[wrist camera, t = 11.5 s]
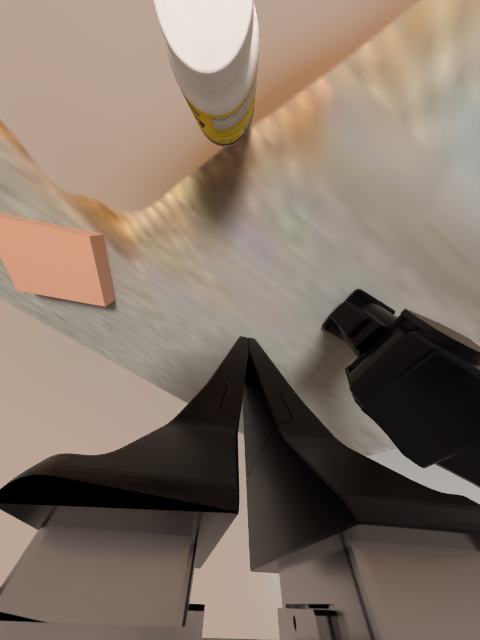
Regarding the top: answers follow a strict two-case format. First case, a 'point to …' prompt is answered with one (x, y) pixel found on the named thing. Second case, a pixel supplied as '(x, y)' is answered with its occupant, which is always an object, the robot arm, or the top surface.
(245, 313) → the top surface
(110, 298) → the tile
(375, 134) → the top surface
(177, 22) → the supplement bottle
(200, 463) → the robot arm
